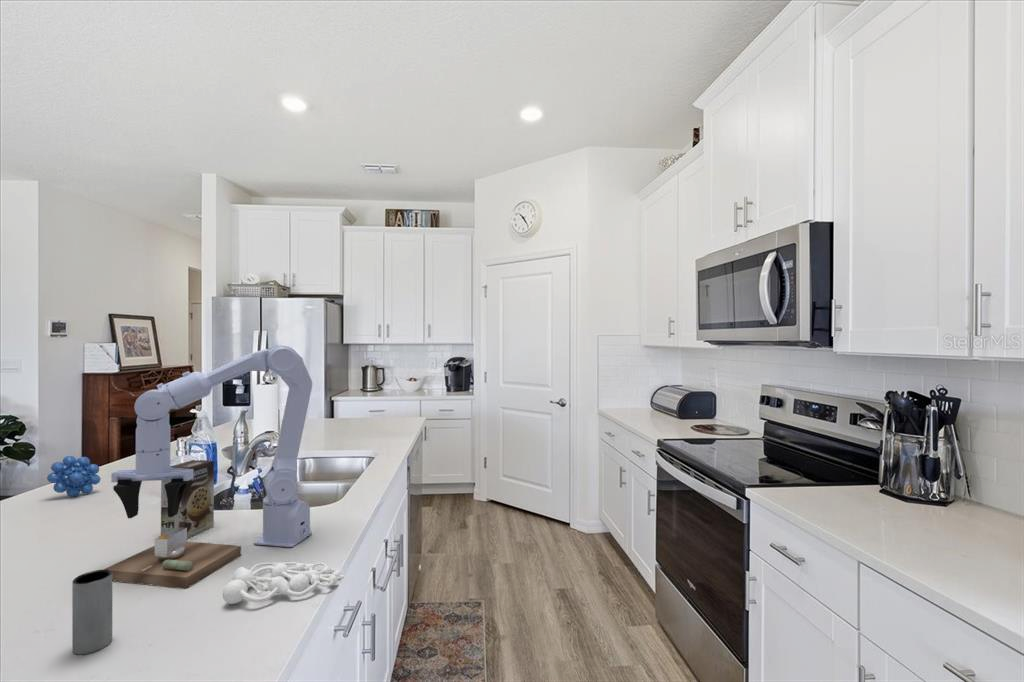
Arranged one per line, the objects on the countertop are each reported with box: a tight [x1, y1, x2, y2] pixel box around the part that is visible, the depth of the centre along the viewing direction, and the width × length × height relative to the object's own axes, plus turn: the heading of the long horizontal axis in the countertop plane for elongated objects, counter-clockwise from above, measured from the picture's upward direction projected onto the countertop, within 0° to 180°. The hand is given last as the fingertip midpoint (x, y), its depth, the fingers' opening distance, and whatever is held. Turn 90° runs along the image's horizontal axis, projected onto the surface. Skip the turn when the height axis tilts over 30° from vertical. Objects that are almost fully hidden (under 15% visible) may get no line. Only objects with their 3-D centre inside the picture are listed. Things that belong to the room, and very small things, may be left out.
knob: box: [154, 528, 188, 560], centre depth 99 cm, size 6×4×5 cm
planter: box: [71, 569, 113, 655], centre depth 73 cm, size 4×4×10 cm
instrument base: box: [102, 541, 242, 589], centre depth 98 cm, size 18×14×4 cm
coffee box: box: [160, 459, 215, 539], centre depth 116 cm, size 9×6×16 cm
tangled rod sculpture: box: [222, 561, 345, 605], centre depth 91 cm, size 19×14×4 cm
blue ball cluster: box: [46, 455, 101, 498], centre depth 142 cm, size 12×7×12 cm, turn 139°
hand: (152, 516), depth 100 cm, fingers open, 7 cm apart
